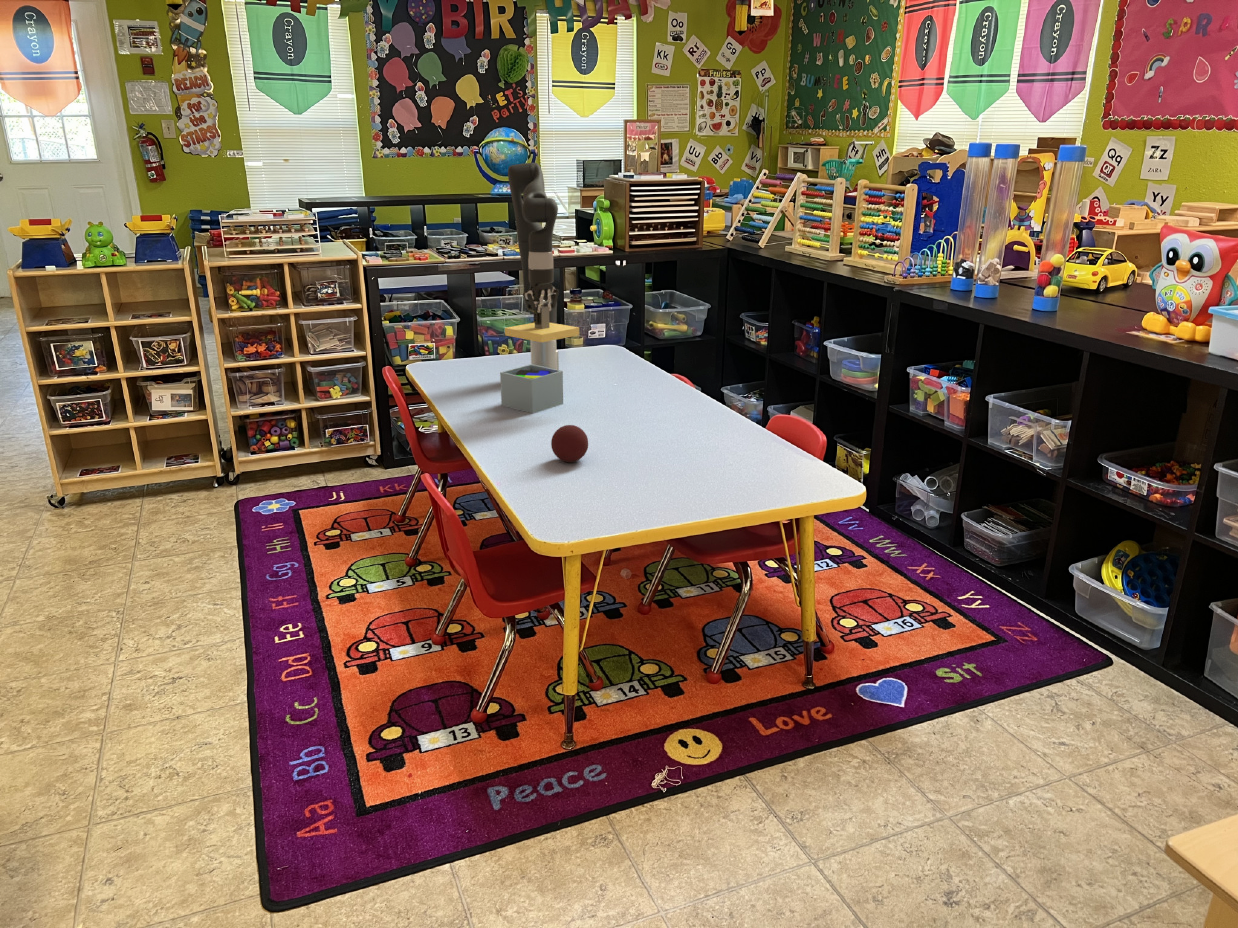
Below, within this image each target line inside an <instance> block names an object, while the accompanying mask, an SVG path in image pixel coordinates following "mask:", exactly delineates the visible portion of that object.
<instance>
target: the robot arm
mask: <svg viewBox="0 0 1238 928" xmlns="http://www.w3.org/2000/svg"><path fill="white" fill-rule="evenodd" d="M507 177H508V178H507V179H508V184H509V189H510V195H511V200H512V205H513V210H514V218H515V226H516V235H517V244H518V251H519V256H520V262H521V269H522V270H521V271H522V282H523V283H522V284H523V286H522V287H523V294H522V295H523V298H524V305H525V308H526V309H527V310H528V311H529V312H532V314H533V321H532V322H531V323H535V324H536V325H540V324H541V313H540V311H541V306H548V307H549V323H555V324H557V321H558V319H557V317H558V316H557V312H558V311H557V307H558V299H559V295H560V289H558V288H556V287H555V286H553V283H554V279H555V278H554V275H555V273H554V255H553V236H554V234H553V233H554V228H555V223H556V220H557V217H558V214H559V207H558V203H557V201H556V200H555V199H554V198H551V197H548V196H547V194H546V191H545V190H546V189H545V180H544V173H543V170H542V167H541V165H540V164H539V163H537V162H527V163H520V164H511V165H510V166H508V170H507ZM522 197H523V198H522ZM541 223H545V225H544V227H543V226H542V224H541ZM536 306H537V308H536ZM529 341H530V364H533V365H537V366H542V367H547V368H551V369H556V370H560V368H559V367H560V366H559V365H560V364H559V362H560V361H559V358H560V357H559V351H558V350H557V340H552V341H547V342H537V341H532V340H529Z"/></svg>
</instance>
